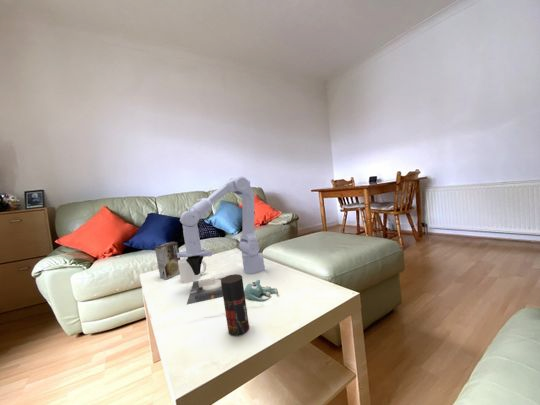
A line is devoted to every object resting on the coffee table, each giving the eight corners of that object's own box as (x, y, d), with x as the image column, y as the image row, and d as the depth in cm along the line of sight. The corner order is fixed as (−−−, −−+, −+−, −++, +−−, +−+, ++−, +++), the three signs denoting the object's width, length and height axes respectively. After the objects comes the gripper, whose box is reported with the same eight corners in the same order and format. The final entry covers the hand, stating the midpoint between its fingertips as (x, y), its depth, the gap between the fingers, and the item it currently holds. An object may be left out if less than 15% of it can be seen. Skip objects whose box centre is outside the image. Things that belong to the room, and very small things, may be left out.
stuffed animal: (281, 286, 79) (245, 285, 78) (279, 306, 80) (244, 307, 78) (276, 274, 90) (244, 273, 88) (274, 292, 90) (243, 292, 89)
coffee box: (176, 271, 125) (171, 241, 123) (183, 272, 121) (178, 241, 120) (159, 278, 118) (154, 246, 116) (166, 279, 114) (161, 247, 112)
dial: (223, 282, 99) (222, 273, 98) (223, 290, 91) (222, 280, 90) (195, 288, 97) (194, 278, 96) (193, 296, 89) (191, 286, 88)
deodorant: (229, 324, 70) (222, 276, 69) (249, 321, 70) (242, 273, 69) (227, 337, 64) (219, 284, 63) (249, 334, 64) (241, 281, 63)
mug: (205, 273, 116) (202, 253, 115) (210, 278, 109) (207, 256, 108) (180, 281, 110) (176, 259, 109) (183, 287, 102) (179, 264, 102)
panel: (235, 278, 105) (234, 272, 104) (237, 296, 87) (236, 289, 87) (193, 286, 101) (192, 280, 101) (187, 307, 84) (185, 300, 83)
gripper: (170, 244, 92) (175, 278, 93) (203, 242, 88) (209, 277, 89) (181, 240, 98) (186, 271, 100) (212, 237, 95) (217, 270, 96)
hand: (197, 274), depth 95 cm, fingers closed
